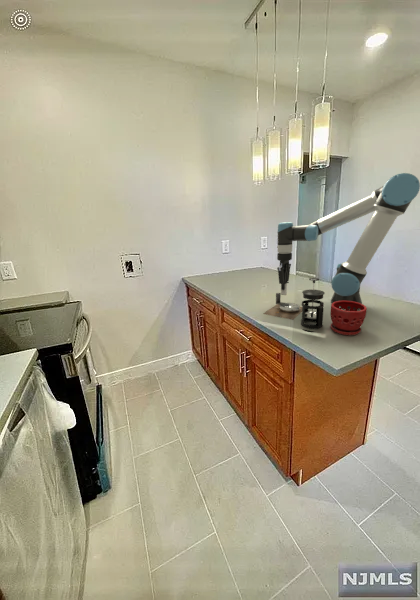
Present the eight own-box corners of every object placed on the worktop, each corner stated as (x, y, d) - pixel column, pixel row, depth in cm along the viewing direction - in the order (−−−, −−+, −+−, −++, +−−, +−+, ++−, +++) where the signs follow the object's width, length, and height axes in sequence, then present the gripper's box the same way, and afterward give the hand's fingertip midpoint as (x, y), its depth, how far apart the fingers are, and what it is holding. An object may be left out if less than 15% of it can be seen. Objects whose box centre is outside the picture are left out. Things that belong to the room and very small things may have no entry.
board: (306, 310, 133) (306, 307, 133) (292, 322, 119) (293, 319, 119) (278, 305, 143) (278, 303, 142) (262, 316, 129) (262, 313, 129)
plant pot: (323, 331, 108) (325, 305, 105) (338, 322, 116) (340, 298, 112) (354, 341, 98) (358, 313, 95) (368, 330, 106) (372, 304, 102)
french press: (295, 324, 117) (297, 277, 110) (313, 321, 118) (316, 274, 111) (310, 335, 106) (313, 283, 99) (329, 331, 107) (334, 280, 100)
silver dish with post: (302, 308, 132) (303, 293, 130) (295, 314, 125) (295, 298, 122) (279, 304, 140) (280, 290, 137) (271, 309, 133) (272, 295, 130)
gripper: (282, 250, 139) (282, 291, 146) (272, 254, 130) (272, 296, 137) (296, 251, 135) (294, 292, 142) (286, 254, 125) (285, 298, 132)
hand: (283, 294), depth 139 cm, fingers closed
